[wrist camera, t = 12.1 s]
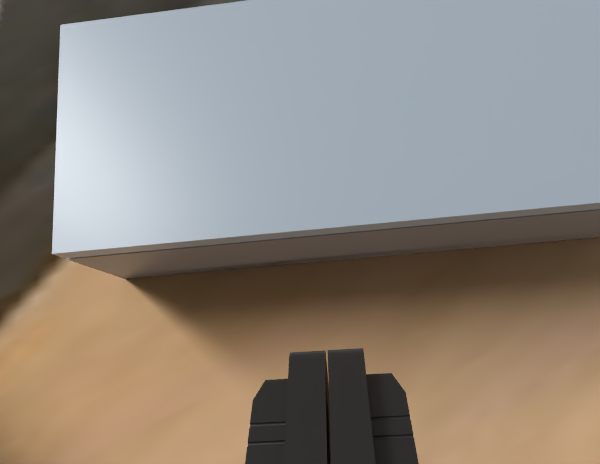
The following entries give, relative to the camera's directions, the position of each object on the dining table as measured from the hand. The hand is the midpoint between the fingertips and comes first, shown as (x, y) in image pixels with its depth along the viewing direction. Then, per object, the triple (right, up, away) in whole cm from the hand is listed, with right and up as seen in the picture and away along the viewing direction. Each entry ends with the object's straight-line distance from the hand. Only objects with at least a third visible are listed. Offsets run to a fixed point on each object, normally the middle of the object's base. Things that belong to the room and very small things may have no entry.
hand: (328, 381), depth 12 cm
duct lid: (+1, +8, +12) cm, 15 cm away
